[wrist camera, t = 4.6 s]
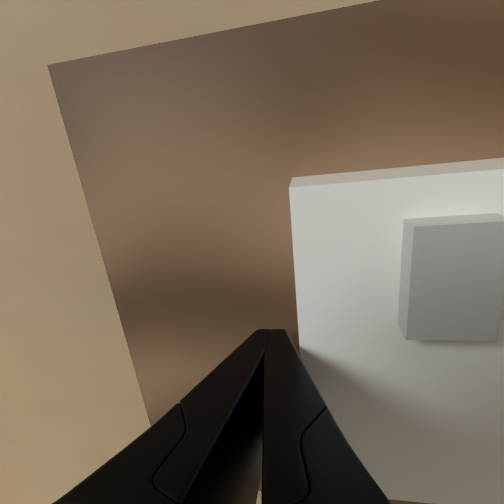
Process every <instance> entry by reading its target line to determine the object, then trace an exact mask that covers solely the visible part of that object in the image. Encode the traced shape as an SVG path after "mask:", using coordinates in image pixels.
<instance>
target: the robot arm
mask: <svg viewBox="0 0 504 504" xmlns="http://www.w3.org/2000/svg"><path fill="white" fill-rule="evenodd" d="M179 403H180V404H179ZM179 403H177V404H176V405H174V406H173V407H172V408H171V409H170V410H169V411H168V412H167V413H166V414H165V415H164V416H162V417H161V418H160V419H159V420H158V421H157V422H156V423H155V424H153V425H152V426H151V427H150V428H149V429H148V430H146V431H145V432H144V433H143V434H142V435H140V436H139V437H138V438H137V439H135V440H134V441H133V442H132V443H130V444H129V445H128V446H127V447H126V448H124V449H123V450H122V451H120V452H119V453H118V454H117V455H115V456H114V457H113V458H111V459H110V460H109V461H108V462H106V463H105V464H104V465H102V466H101V467H100V468H99V469H97V470H96V471H95V472H94V473H92V474H91V475H90V476H88V477H87V478H86V479H85V480H83V481H82V482H81V483H79V484H78V485H77V486H76V487H74V488H73V489H72V490H70V491H69V492H68V493H67V494H65V495H64V496H62V497H61V498H60V499H58V500H57V501H55V502H54V503H52V504H256V499H257V494H258V488H259V483H260V477H261V471H262V504H392V503H391V502H390V501H389V499H388V498H387V497H386V495H385V494H384V492H383V491H382V490H381V488H380V487H379V486H378V484H377V483H376V481H375V480H374V479H373V477H372V476H371V475H370V473H369V472H368V470H367V469H366V468H365V466H364V465H363V464H362V462H361V461H360V459H359V458H358V456H357V455H356V453H355V452H354V450H353V449H352V447H351V446H350V445H349V443H348V441H347V440H346V438H345V436H344V435H343V433H342V431H341V430H340V428H339V426H338V425H337V423H336V421H335V419H334V417H333V416H332V414H331V412H330V410H329V409H328V407H327V405H326V403H325V401H324V399H323V398H322V396H321V394H320V392H319V390H318V388H317V387H316V385H315V383H314V381H313V379H312V377H311V376H310V374H309V372H308V370H307V368H306V366H305V365H304V363H303V361H302V359H301V357H300V355H299V353H298V352H297V350H296V348H295V346H294V344H293V342H292V341H291V339H290V337H289V335H288V333H287V331H286V330H285V329H257V330H256V331H255V332H253V333H252V334H251V335H250V336H249V337H248V338H247V339H246V340H245V341H244V342H243V343H242V344H241V345H239V346H238V347H237V348H236V349H235V350H234V351H233V352H232V353H231V354H230V355H229V356H228V357H226V358H225V359H224V360H223V361H222V362H221V363H220V364H219V365H218V366H217V367H216V368H215V369H214V370H212V371H211V372H210V373H209V374H208V375H207V376H206V377H205V378H204V379H203V380H202V381H201V382H200V383H198V384H197V385H196V386H195V387H194V388H193V389H192V390H191V391H190V392H189V393H188V394H187V395H185V396H184V397H183V398H182V399H181V400H180V402H179Z"/></svg>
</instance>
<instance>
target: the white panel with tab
mask: <svg viewBox="0 0 504 504" xmlns="http://www.w3.org/2000/svg"><path fill="white" fill-rule="evenodd" d="M289 197H290V212H291V227H292V242H293V257H294V272H295V287H296V303H297V318H298V333H299V348H300V357H301V359H302V361H303V363H304V365H305V366H306V368H307V370H308V372H309V374H310V376H311V377H312V379H313V381H314V383H315V385H316V387H317V388H318V390H319V392H320V394H321V396H322V398H323V399H324V401H325V403H326V405H327V407H328V409H329V410H330V412H331V414H332V416H333V417H334V419H335V421H336V423H337V425H338V426H339V428H340V430H341V431H342V433H343V435H344V436H345V438H346V440H347V441H348V443H349V445H350V446H351V447H352V449H353V450H354V452H355V453H356V455H357V456H358V458H359V459H360V461H361V462H362V464H363V465H364V466H365V468H366V469H367V470H368V472H369V473H370V475H371V476H372V477H373V479H374V480H375V481H376V483H377V484H378V486H379V487H380V488H381V490H382V491H383V492H384V494H385V495H386V497H387V498H388V499H391V500H401V501H410V502H420V503H430V504H504V158H495V159H485V160H474V161H463V162H453V163H442V164H431V165H420V166H410V167H399V168H388V169H378V170H367V171H356V172H346V173H335V174H324V175H314V176H303V177H292V180H291V183H290V186H289Z"/></svg>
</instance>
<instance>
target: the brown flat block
mask: <svg viewBox="0 0 504 504" xmlns="http://www.w3.org/2000/svg"><path fill="white" fill-rule="evenodd" d="M47 66H48V69H49V73H50V76H51V80H52V83H53V87H54V90H55V94H56V97H57V101H58V104H59V108H60V111H61V114H62V118H63V121H64V125H65V128H66V132H67V135H68V139H69V142H70V146H71V149H72V153H73V156H74V160H75V163H76V167H77V170H78V174H79V177H80V181H81V184H82V188H83V191H84V195H85V198H86V202H87V205H88V208H89V212H90V215H91V219H92V222H93V226H94V229H95V233H96V236H97V240H98V243H99V247H100V250H101V254H102V257H103V261H104V264H105V268H106V271H107V275H108V278H109V282H110V285H111V289H112V292H113V296H114V299H115V302H116V306H117V309H118V313H119V316H120V320H121V323H122V327H123V330H124V334H125V337H126V341H127V344H128V348H129V351H130V355H131V358H132V362H133V365H134V369H135V372H136V376H137V379H138V383H139V386H140V390H141V393H142V396H143V400H144V403H145V407H146V410H147V414H148V417H149V421H150V424H151V426H152V425H153V424H155V423H156V422H157V421H158V420H159V419H160V418H161V417H162V416H164V415H165V414H166V413H167V412H168V411H169V410H170V409H171V408H172V407H173V406H174V405H176V404H177V403H179V402H180V400H181V399H182V398H183V397H184V396H185V395H187V394H188V393H189V392H190V391H191V390H192V389H193V388H194V387H195V386H196V385H197V384H198V383H200V382H201V381H202V380H203V379H204V378H205V377H206V376H207V375H208V374H209V373H210V372H211V371H212V370H214V369H215V368H216V367H217V366H218V365H219V364H220V363H221V362H222V361H223V360H224V359H225V358H226V357H228V356H229V355H230V354H231V353H232V352H233V351H234V350H235V349H236V348H237V347H238V346H239V345H241V344H242V343H243V342H244V341H245V340H246V339H247V338H248V337H249V336H250V335H251V334H252V333H253V332H255V331H256V330H257V329H285V330H286V331H287V333H288V335H289V337H290V339H291V341H292V342H293V344H294V346H295V348H296V350H297V352H298V353H299V355H300V348H299V333H298V318H297V303H296V287H295V272H294V257H293V242H292V227H291V212H290V197H289V186H290V183H291V180H292V177H303V176H314V175H324V174H335V173H346V172H356V171H367V170H378V169H388V168H399V167H410V166H420V165H431V164H442V163H453V162H463V161H474V160H485V159H495V158H504V0H379V1H374V2H369V3H363V4H358V5H353V6H348V7H343V8H338V9H333V10H328V11H322V12H317V13H312V14H307V15H302V16H297V17H292V18H287V19H281V20H276V21H271V22H266V23H261V24H256V25H251V26H246V27H240V28H235V29H230V30H225V31H220V32H215V33H210V34H205V35H199V36H194V37H189V38H184V39H179V40H174V41H169V42H164V43H158V44H153V45H148V46H143V47H138V48H133V49H128V50H123V51H117V52H112V53H107V54H102V55H97V56H92V57H87V58H82V59H76V60H71V61H66V62H61V63H56V64H51V65H47ZM179 404H180V403H179ZM258 491H262V471H261V477H260V483H259V488H258ZM389 501H390V502H391V503H392V504H430V503H420V502H410V501H401V500H391V499H389Z"/></svg>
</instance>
